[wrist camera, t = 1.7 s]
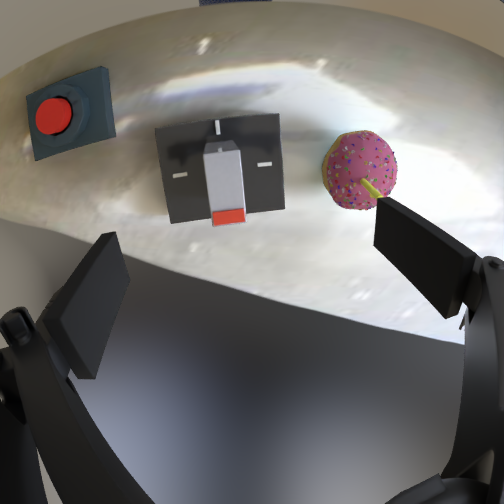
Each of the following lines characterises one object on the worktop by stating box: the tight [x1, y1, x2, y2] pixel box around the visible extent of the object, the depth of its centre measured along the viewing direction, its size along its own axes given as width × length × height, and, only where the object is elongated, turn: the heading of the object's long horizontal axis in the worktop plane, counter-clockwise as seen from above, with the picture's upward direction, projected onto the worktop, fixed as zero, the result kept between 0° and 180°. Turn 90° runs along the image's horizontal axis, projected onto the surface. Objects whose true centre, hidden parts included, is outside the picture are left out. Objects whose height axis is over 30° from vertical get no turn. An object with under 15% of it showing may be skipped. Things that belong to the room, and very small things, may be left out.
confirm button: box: [36, 98, 72, 134], centre depth 21 cm, size 4×4×2 cm
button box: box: [26, 66, 116, 161], centre depth 23 cm, size 10×8×4 cm
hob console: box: [155, 113, 285, 224], centre depth 29 cm, size 12×10×3 cm
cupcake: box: [322, 130, 398, 210], centre depth 26 cm, size 9×8×12 cm
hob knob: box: [203, 140, 247, 227], centre depth 24 cm, size 6×3×8 cm, turn 4°
